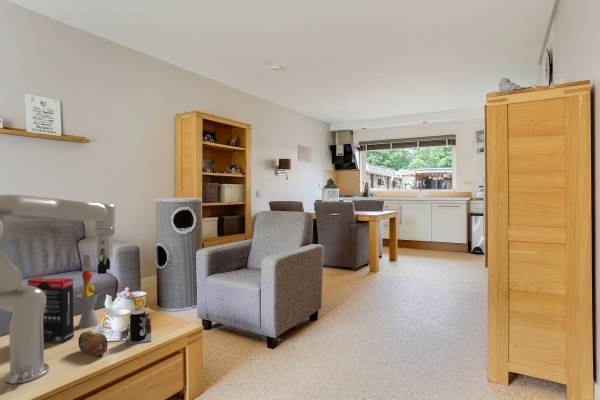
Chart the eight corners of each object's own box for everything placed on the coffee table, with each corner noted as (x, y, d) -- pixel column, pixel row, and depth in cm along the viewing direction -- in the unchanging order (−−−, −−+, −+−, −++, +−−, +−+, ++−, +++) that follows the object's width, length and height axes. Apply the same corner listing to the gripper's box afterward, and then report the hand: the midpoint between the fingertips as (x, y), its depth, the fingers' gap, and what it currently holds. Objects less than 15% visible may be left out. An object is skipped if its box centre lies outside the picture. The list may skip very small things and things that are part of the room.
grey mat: (151, 341, 151) (151, 340, 151) (125, 345, 147) (125, 344, 147) (151, 333, 159) (151, 332, 159) (126, 337, 155) (126, 336, 155)
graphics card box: (75, 337, 155) (74, 277, 155) (63, 344, 148) (62, 280, 148) (40, 335, 157) (39, 276, 156) (26, 342, 150) (26, 279, 149)
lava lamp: (88, 328, 165) (87, 255, 164) (72, 327, 167) (72, 255, 166) (103, 322, 173) (102, 252, 173) (88, 320, 176) (87, 252, 175)
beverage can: (135, 342, 148) (135, 315, 148) (126, 339, 151) (126, 312, 151) (149, 337, 154) (149, 310, 153) (140, 334, 157) (140, 308, 157)
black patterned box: (151, 333, 159) (151, 325, 159) (126, 337, 155) (126, 328, 155) (151, 326, 168) (151, 317, 168) (128, 329, 164) (128, 320, 164)
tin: (77, 351, 142) (77, 330, 141) (85, 348, 144) (85, 328, 144) (101, 358, 135) (101, 337, 135) (109, 355, 138) (109, 334, 138)
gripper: (111, 233, 143) (110, 274, 143) (117, 230, 160) (116, 267, 159) (90, 234, 141) (89, 276, 141) (98, 230, 157) (97, 268, 157)
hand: (104, 271), depth 150 cm, fingers open, 9 cm apart
